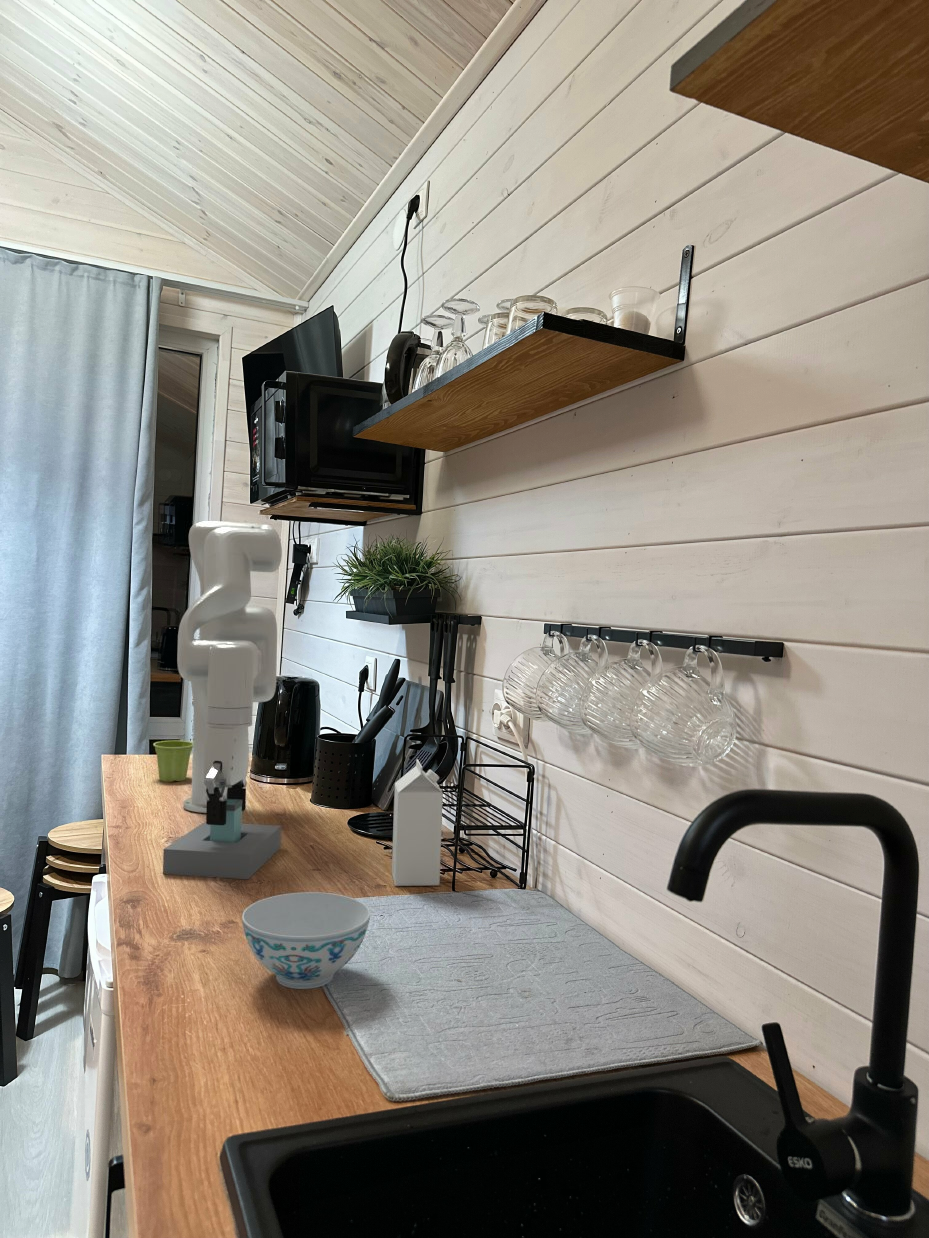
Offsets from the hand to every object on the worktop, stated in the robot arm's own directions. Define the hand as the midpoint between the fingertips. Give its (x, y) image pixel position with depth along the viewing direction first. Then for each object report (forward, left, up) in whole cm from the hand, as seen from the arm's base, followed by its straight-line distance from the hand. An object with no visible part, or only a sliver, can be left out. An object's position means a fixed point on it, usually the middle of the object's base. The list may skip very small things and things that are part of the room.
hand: (226, 817), depth 151 cm
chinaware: (+43, +25, -7) cm, 50 cm away
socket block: (0, 0, -7) cm, 7 cm away
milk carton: (+4, +33, -7) cm, 34 cm away
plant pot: (-60, -34, -8) cm, 69 cm away
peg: (0, 0, -7) cm, 7 cm away
